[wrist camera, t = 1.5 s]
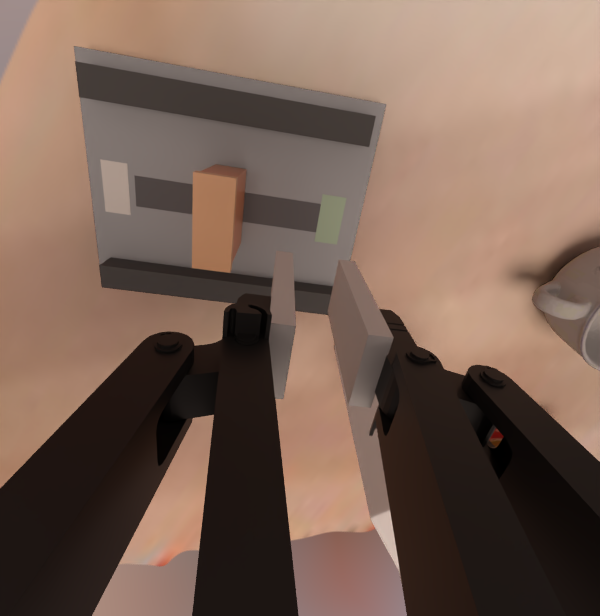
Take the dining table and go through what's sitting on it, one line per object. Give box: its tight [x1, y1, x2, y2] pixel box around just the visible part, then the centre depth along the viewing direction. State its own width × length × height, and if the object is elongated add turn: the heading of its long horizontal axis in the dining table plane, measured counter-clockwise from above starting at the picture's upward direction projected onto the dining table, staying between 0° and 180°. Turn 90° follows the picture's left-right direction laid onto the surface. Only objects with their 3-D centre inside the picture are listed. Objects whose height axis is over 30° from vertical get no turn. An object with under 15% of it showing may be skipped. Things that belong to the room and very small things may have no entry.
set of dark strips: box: [75, 61, 376, 315], centre depth 27 cm, size 20×16×2 cm
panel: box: [74, 46, 386, 286], centre depth 29 cm, size 22×18×2 cm
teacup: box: [532, 247, 600, 371], centre depth 31 cm, size 14×11×8 cm
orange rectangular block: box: [192, 164, 247, 273], centre depth 25 cm, size 3×6×7 cm, turn 171°
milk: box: [334, 346, 402, 582], centre depth 28 cm, size 6×6×22 cm
